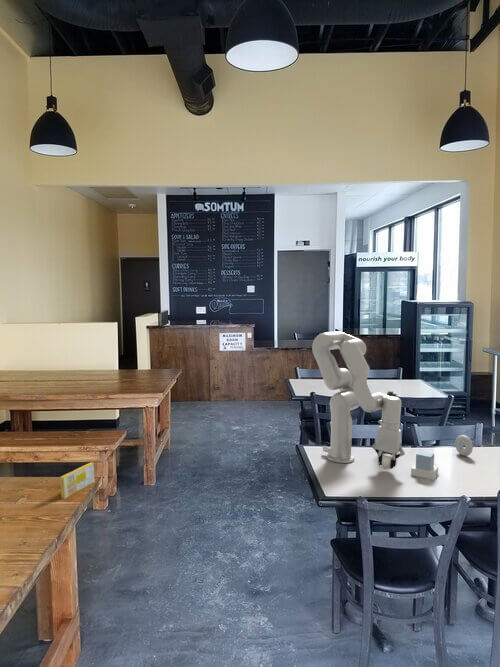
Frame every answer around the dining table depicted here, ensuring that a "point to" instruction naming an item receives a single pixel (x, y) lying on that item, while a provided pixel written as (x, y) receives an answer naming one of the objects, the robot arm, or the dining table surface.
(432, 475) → the plinth
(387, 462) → the cream cap
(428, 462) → the slate cube
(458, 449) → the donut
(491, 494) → the dining table surface
